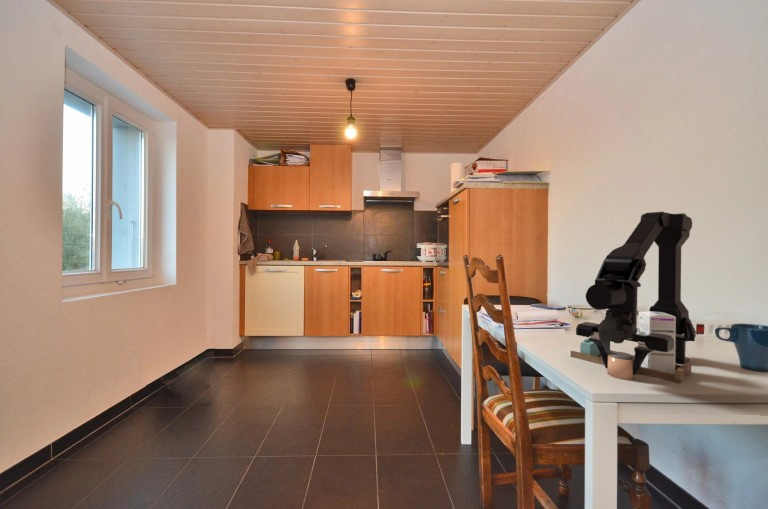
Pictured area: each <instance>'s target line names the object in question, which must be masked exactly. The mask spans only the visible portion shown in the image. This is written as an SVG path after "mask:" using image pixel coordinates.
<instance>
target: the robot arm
mask: <svg viewBox="0 0 768 509" xmlns="http://www.w3.org/2000/svg"><path fill="white" fill-rule="evenodd" d="M692 227H693V219H692V218H691V217H690V216H687V214H686V213H684V212H682V213H681V212H680V213H669V212H665V211H653V212H645V213H642V215H641V216H640V221H639V223H637V225H636V227H635V228H634V229H633V230H632V232H631V234H630V235H629V237H628V238H627V239H626V241H625V242H624V244H622V245H620V246H619V247H617V248H614V249H612V250H611V252H609V253H608V254H607V256H605V258H604V259H603V262H602V264H601V265H600V267H599V271H598V273H597V274H596V278H595V279H594V284H592V285H591V286H589V288H587V290H586V293H585V300H586V302H587V304H588V305H589V306H590V307H591V308H593V309H594V310H598V311H601V310H603V311H604V310H605V316H604V319H602V320H601V321H600V323H595V322H589V321H584V322H581V323H578V324H577V325H576V328H575V335H576V336H579V337H585V338H589V341H592V342H594V343H595V344H596V346H597V347H598V349H599V351H600V357H602V359H603V362H604V365H603V366H604V367H605V368H606V369H607V366H608V354H609V352H610V350H611V342H612V343H614V344H623V343H624V341H629V342H632V343H633V342H634V343H637V346H635V347H634V348H633V350H634V355H635V358H634V365H633V375H635V376H636V375H638V374H639V373H638V371H639V369H640V367H641V365H642V363H643V361H644V359H645V357H646V356H647V355H648V353H650V352H652V351H654V350H656V351H661V352H668V351H670V350H672V349H673V348H674V339H673V338H672V337H671V336H670V335H664V334H658V333H651V334H648V335H640V334H639V327H638V326H637V324H638V322H637V320H638V316H639V310H638V291H639V290H638V288H641V286H642V285H641V283H640V279H641V277H642V275H643V274H644V272H645V271H646V266H647V262H646V260H645V257H646V255H647V253H648V252H649V250H650V249H651V246H652V245H653V244H654V243H655V245H656V246H657V247H658V266H657V268H658V272H657V274H658V276H657V277H658V282H657V284H658V285H657V287H658V288H657V290H658V292H657V293H658V294H657V300H656V302H655V303H654V304H653V305H651V306H650V307H649V309H648V310H649V311H654V312H663V313H666V314H669V315H672V316H675V317H676V346H675V364H679V365H681V364H682V365H683V364H685V363H686V362H687V363H688V361H690V357H686V346H687V345H686V344H687V342H696V341H695V340H696V336H697V334H696V333H697V332H696V329H695V327H694V324H693V322H692V321H691V318H690V314H689V310H688V308H687V307H686V306H685V304H684V303H683V302H682V299H681V298H682V296H681V295H682V294H681V293H682V246H684V244H685V243H686V241H687V240H688V239H689V238H690V235H691V230H692Z"/></svg>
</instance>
